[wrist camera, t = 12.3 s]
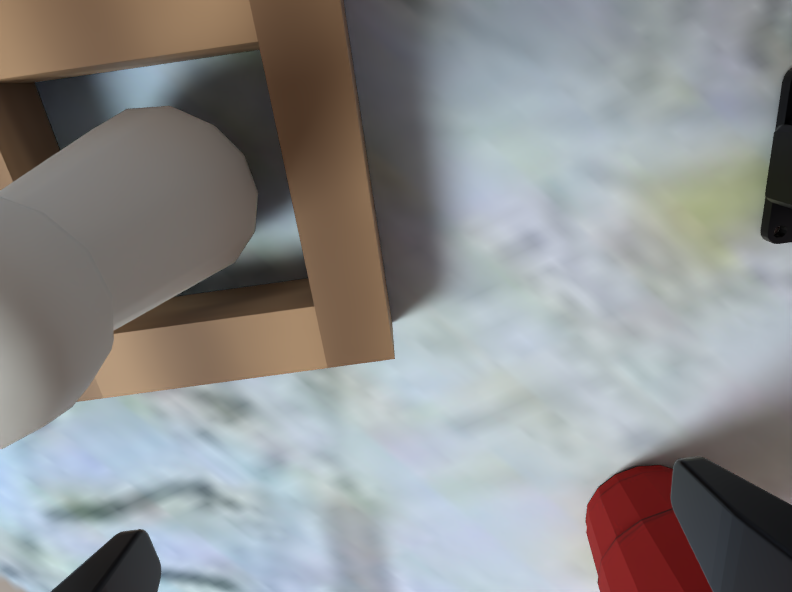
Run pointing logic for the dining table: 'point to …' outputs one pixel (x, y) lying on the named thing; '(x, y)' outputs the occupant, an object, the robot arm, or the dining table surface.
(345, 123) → the frame
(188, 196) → the salt shaker
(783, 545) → the robot arm
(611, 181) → the dining table surface
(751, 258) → the dining table surface
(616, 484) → the plastic cup
